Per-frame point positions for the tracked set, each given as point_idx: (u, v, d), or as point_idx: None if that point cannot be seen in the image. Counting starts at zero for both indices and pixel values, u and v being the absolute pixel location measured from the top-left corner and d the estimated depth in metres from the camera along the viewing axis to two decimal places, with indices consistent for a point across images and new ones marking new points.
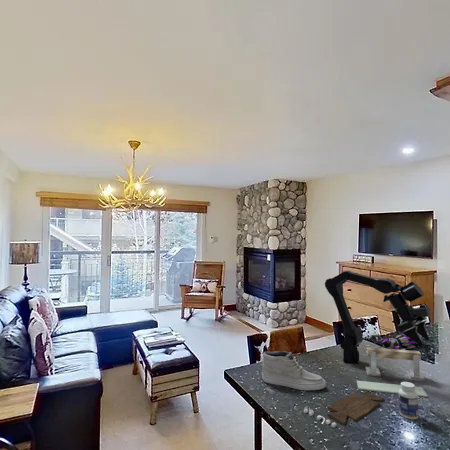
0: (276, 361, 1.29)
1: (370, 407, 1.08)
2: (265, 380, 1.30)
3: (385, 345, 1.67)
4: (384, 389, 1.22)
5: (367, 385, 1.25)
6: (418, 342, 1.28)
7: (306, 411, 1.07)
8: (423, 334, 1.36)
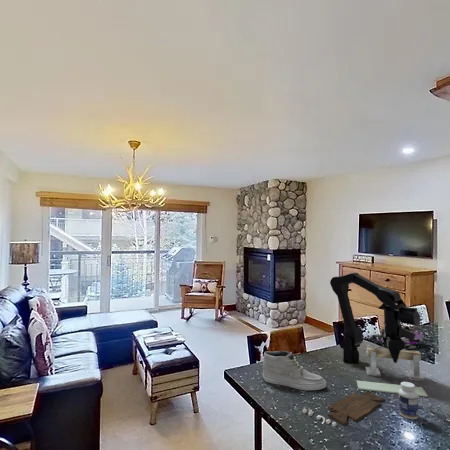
0: (277, 361, 1.30)
1: (370, 407, 1.08)
2: (266, 380, 1.31)
3: None
4: (384, 389, 1.22)
5: (367, 385, 1.25)
6: (394, 359, 1.32)
7: (305, 411, 1.07)
8: None
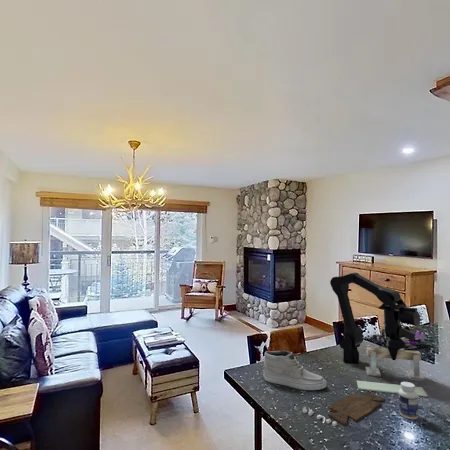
0: (277, 361, 1.30)
1: (371, 407, 1.08)
2: (266, 379, 1.31)
3: (384, 344, 1.68)
4: (384, 389, 1.22)
5: (367, 385, 1.25)
6: (393, 357, 1.35)
7: (305, 411, 1.07)
8: None
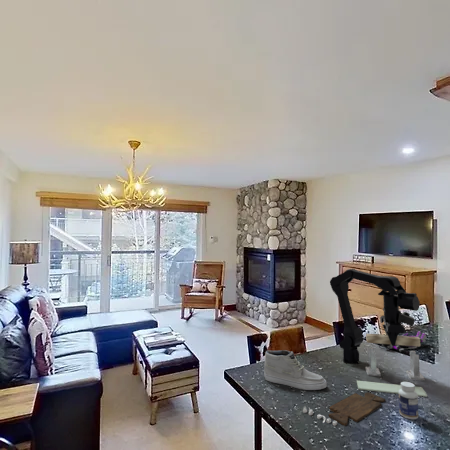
0: (278, 360, 1.31)
1: (371, 407, 1.08)
2: (267, 378, 1.32)
3: (384, 344, 1.68)
4: (384, 389, 1.22)
5: (367, 385, 1.25)
6: (392, 342, 1.35)
7: (305, 411, 1.07)
8: None
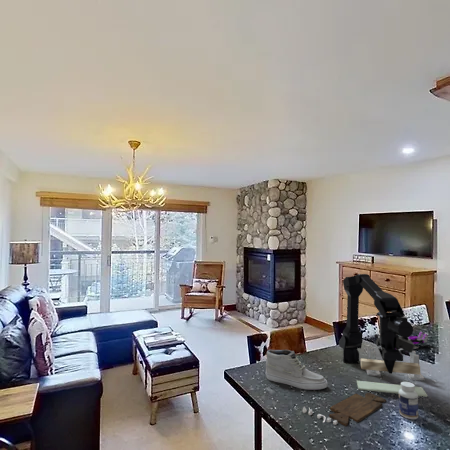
0: (279, 359, 1.31)
1: (372, 408, 1.08)
2: (268, 377, 1.33)
3: None
4: (384, 389, 1.22)
5: (367, 385, 1.25)
6: (389, 370, 1.22)
7: (305, 411, 1.07)
8: None
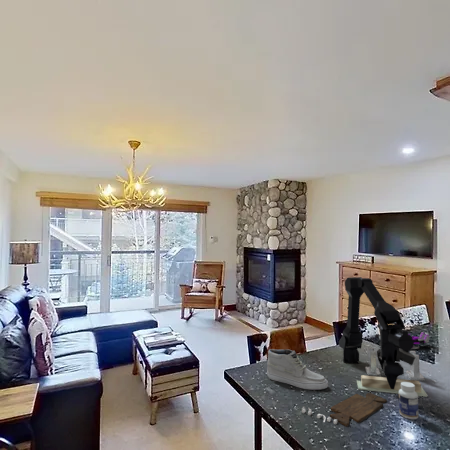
0: (280, 359, 1.32)
1: (373, 408, 1.08)
2: (269, 377, 1.34)
3: None
4: (384, 389, 1.22)
5: None
6: (391, 385, 1.19)
7: (304, 411, 1.07)
8: None
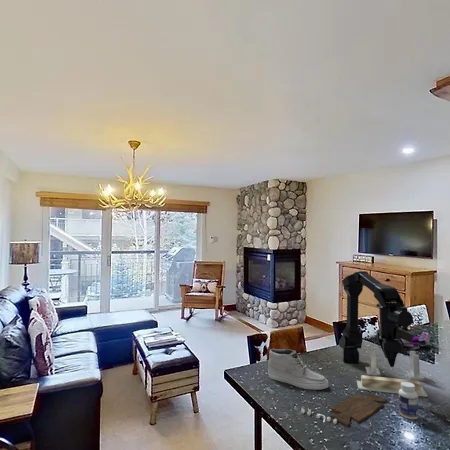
0: (280, 359, 1.33)
1: (373, 408, 1.08)
2: (270, 376, 1.34)
3: None
4: (384, 389, 1.22)
5: None
6: (391, 363, 1.19)
7: (303, 411, 1.07)
8: None
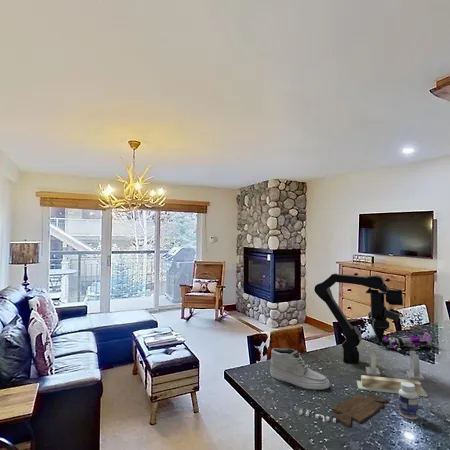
0: (282, 358, 1.33)
1: (374, 409, 1.08)
2: (272, 375, 1.35)
3: (383, 343, 1.70)
4: (384, 389, 1.22)
5: None
6: (379, 338, 1.42)
7: (302, 412, 1.06)
8: None
